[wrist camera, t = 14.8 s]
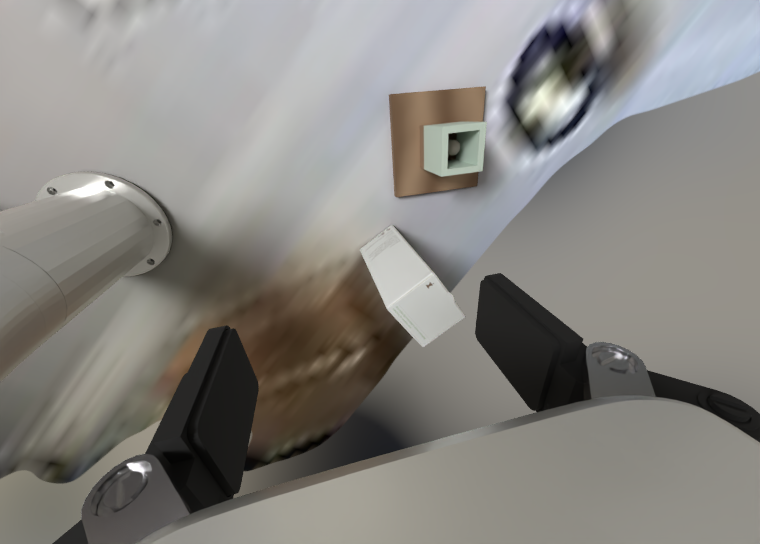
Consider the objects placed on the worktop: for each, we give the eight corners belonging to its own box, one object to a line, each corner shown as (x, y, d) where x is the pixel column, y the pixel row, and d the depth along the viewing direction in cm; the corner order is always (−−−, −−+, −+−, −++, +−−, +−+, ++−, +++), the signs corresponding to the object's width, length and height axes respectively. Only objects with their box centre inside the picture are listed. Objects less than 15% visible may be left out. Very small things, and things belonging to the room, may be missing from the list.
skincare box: (358, 248, 42) (381, 307, 29) (394, 221, 42) (434, 269, 28) (389, 284, 46) (421, 350, 33) (422, 260, 46) (469, 318, 32)
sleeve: (419, 125, 35) (442, 126, 29) (456, 121, 36) (486, 121, 30) (420, 167, 38) (441, 176, 32) (455, 163, 39) (482, 170, 32)
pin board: (394, 195, 40) (406, 205, 35) (388, 94, 34) (402, 90, 29) (473, 184, 42) (494, 192, 37) (481, 87, 36) (507, 82, 31)
